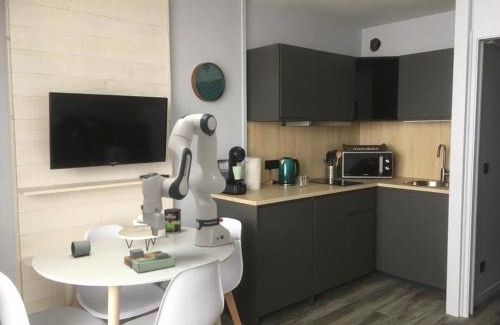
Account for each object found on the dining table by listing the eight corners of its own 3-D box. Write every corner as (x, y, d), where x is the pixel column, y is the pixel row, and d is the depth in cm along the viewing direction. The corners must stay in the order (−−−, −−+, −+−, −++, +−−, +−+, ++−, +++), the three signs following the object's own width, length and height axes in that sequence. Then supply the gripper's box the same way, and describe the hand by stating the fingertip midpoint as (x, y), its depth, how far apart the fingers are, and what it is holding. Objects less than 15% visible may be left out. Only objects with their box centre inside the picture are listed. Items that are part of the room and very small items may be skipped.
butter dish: (165, 238, 254) (164, 211, 253) (134, 240, 248) (133, 213, 247) (162, 231, 270) (162, 206, 269) (133, 234, 265) (132, 208, 264)
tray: (167, 261, 205) (167, 253, 205) (175, 266, 198) (174, 257, 198) (131, 268, 196) (131, 259, 196) (138, 273, 189) (138, 264, 188)
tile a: (165, 252, 201) (167, 253, 199) (165, 263, 201) (167, 264, 199) (154, 254, 198) (157, 255, 196) (155, 264, 199) (157, 266, 196)
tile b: (140, 254, 207) (140, 248, 207) (143, 257, 203) (143, 250, 203) (130, 256, 204) (129, 250, 204) (133, 258, 200) (133, 252, 200)
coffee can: (178, 234, 262) (177, 211, 261) (162, 233, 264) (161, 211, 263) (183, 230, 272) (183, 208, 271) (168, 230, 274) (167, 208, 273)
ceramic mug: (91, 255, 218) (91, 240, 218) (75, 258, 213) (74, 243, 213) (85, 251, 227) (84, 237, 226) (69, 254, 222) (68, 239, 221)
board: (160, 256, 214) (160, 250, 214) (168, 261, 206) (168, 255, 205) (124, 263, 204) (124, 256, 204) (131, 268, 196) (130, 261, 196)
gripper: (168, 209, 199) (169, 238, 201) (151, 203, 216) (153, 230, 217) (155, 211, 196) (157, 241, 197) (139, 205, 213) (141, 232, 214)
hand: (155, 235), depth 207 cm, fingers closed
